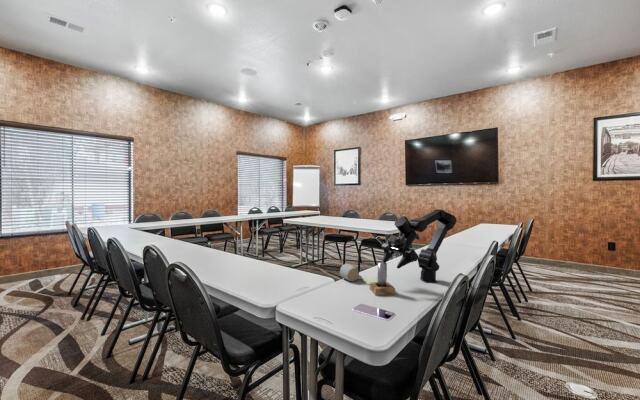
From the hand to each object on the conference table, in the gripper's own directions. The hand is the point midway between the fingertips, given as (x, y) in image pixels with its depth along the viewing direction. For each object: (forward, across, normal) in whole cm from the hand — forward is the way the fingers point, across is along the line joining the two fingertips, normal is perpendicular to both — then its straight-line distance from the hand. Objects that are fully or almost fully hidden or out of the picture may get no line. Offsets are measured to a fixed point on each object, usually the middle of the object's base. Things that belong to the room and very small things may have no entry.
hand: (389, 265), depth 134 cm
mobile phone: (+25, +15, -8) cm, 30 cm away
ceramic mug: (+12, -22, +5) cm, 25 cm away
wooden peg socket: (+11, 0, +5) cm, 12 cm away
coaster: (+6, -13, +10) cm, 18 cm away
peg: (+11, 0, +5) cm, 12 cm away
